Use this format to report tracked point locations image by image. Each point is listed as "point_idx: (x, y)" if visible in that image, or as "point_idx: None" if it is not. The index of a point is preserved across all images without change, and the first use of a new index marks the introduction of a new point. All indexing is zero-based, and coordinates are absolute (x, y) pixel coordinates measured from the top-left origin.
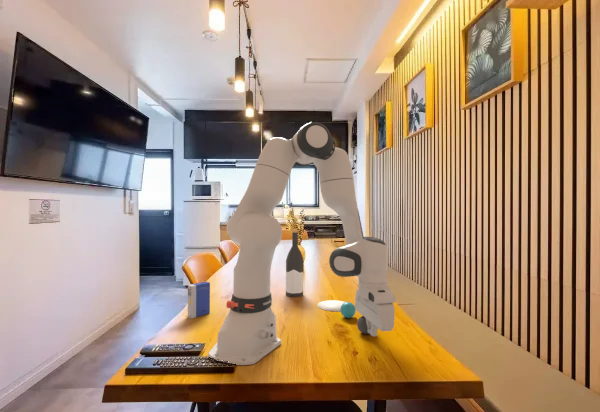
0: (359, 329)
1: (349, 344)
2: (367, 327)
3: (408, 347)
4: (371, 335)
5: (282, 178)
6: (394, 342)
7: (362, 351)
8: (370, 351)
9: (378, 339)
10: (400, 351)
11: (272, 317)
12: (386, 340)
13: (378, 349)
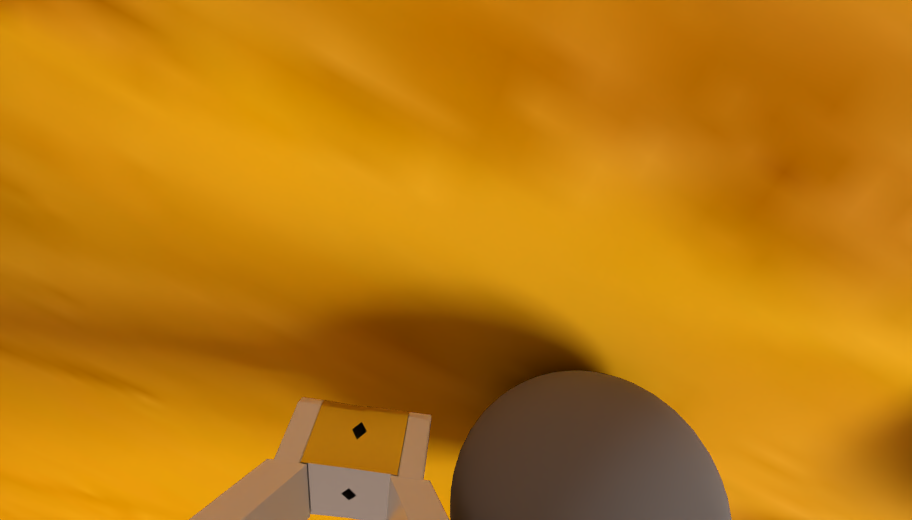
0: (574, 380)
1: (287, 11)
2: (459, 475)
3: (159, 508)
4: (307, 400)
5: None
6: None
7: (22, 85)
8: (37, 190)
9: None
10: (73, 433)
11: None
12: None
13: (106, 299)
